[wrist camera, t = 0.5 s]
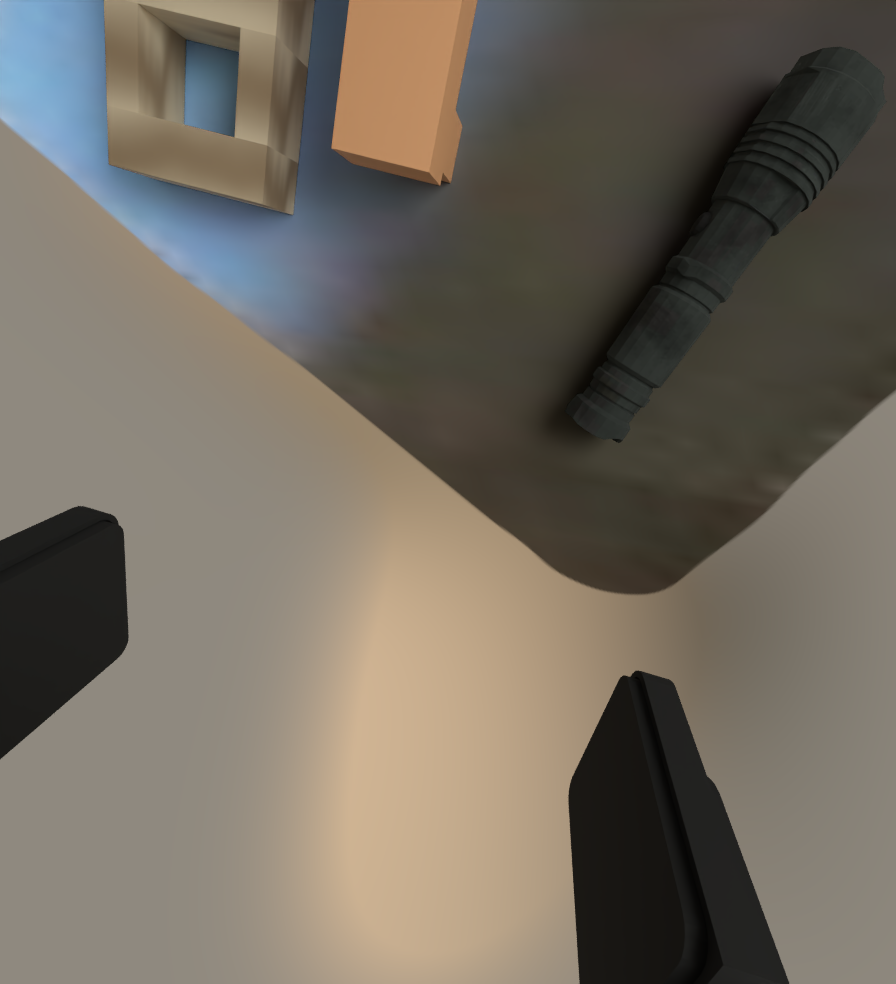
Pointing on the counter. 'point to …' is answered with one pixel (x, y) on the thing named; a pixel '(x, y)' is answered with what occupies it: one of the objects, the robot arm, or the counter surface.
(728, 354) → the counter surface
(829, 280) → the counter surface
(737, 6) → the counter surface
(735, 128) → the counter surface
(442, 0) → the tan wedge board
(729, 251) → the flashlight
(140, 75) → the slotted tan block
